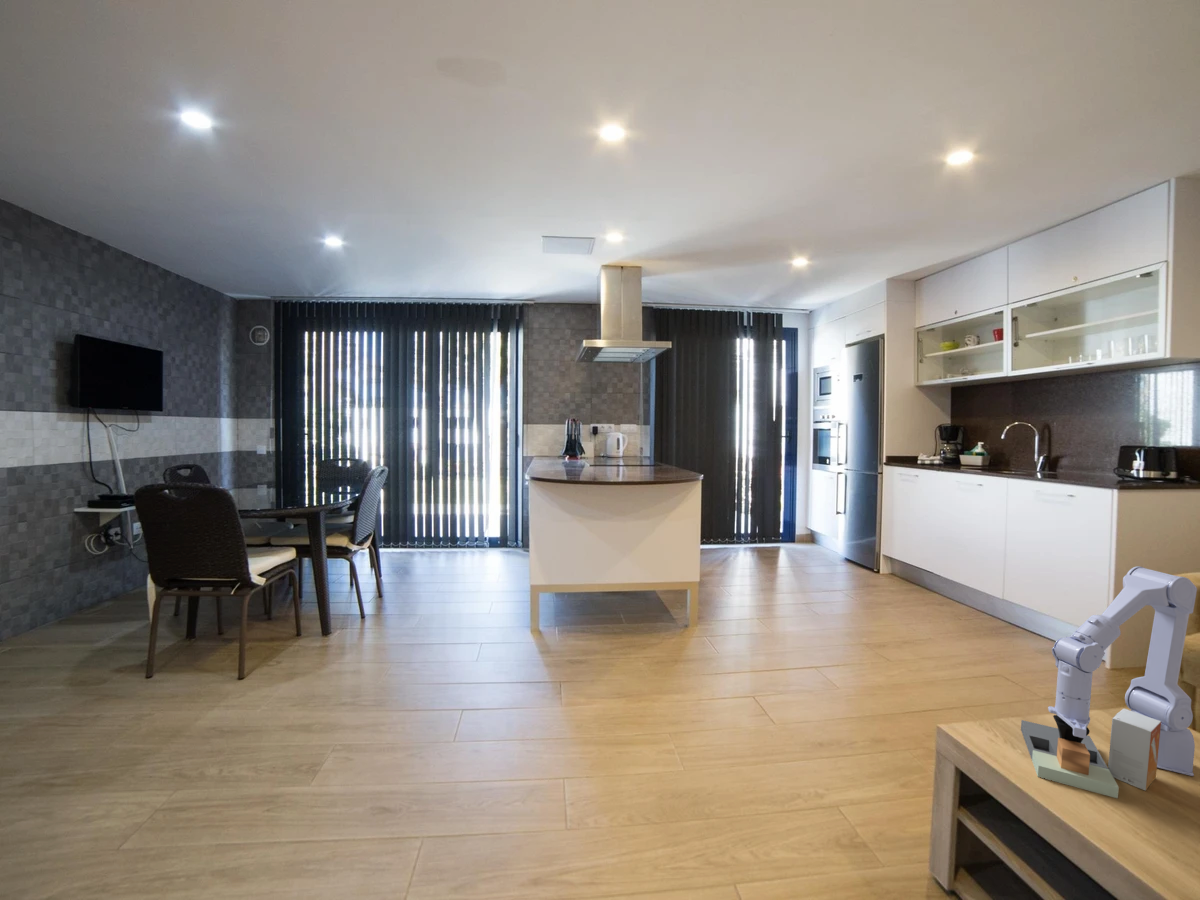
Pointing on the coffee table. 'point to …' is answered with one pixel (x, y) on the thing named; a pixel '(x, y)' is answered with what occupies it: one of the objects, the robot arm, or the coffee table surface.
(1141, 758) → the small box
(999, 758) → the coffee table surface
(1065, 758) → the orange block
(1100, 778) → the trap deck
